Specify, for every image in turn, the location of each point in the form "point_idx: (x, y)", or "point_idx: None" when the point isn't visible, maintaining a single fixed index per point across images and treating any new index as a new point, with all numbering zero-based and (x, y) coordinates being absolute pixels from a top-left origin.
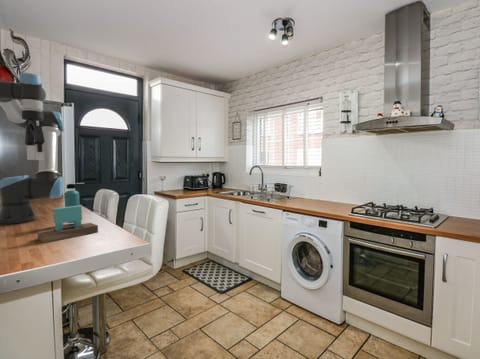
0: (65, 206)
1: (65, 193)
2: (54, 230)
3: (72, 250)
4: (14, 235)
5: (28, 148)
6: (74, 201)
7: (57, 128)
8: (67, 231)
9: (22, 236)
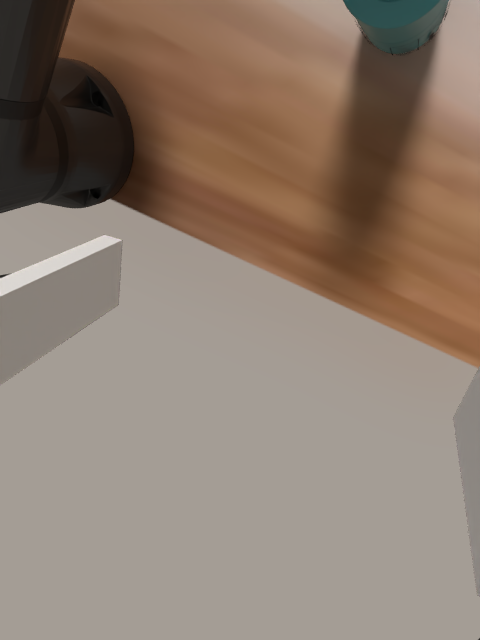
0: (387, 40)
1: (390, 23)
2: None
3: None
4: (349, 277)
5: (23, 355)
6: None
7: None
8: None
9: (398, 273)
